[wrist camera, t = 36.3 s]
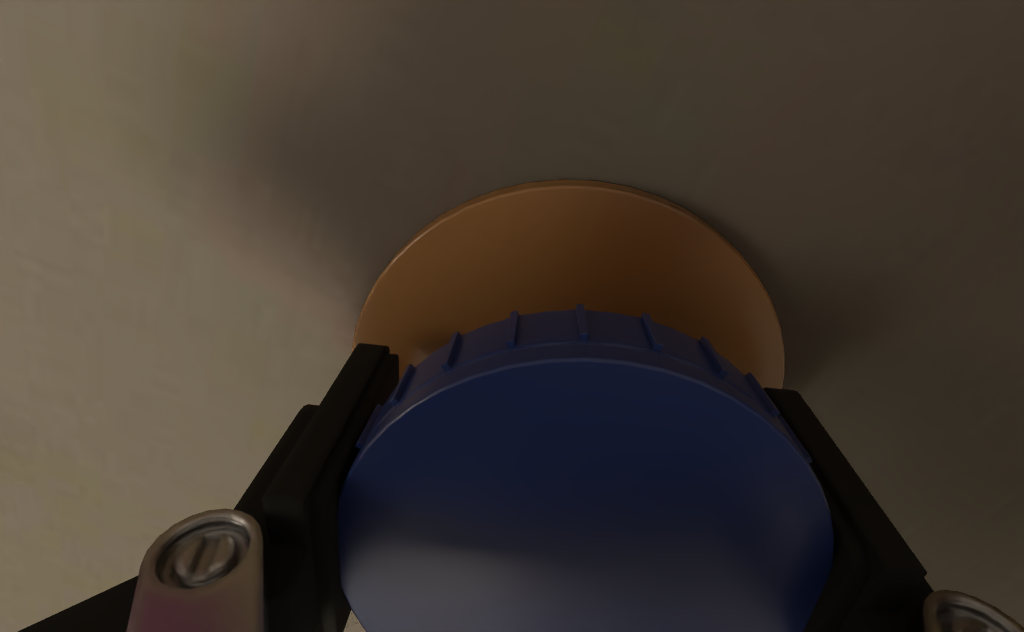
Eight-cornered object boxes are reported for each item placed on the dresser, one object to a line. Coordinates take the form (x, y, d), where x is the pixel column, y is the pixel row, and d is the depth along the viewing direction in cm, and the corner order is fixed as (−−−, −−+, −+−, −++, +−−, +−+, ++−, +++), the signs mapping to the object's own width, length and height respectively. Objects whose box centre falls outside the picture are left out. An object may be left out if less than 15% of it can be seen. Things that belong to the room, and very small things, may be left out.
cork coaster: (844, 206, 10) (858, 214, 9) (711, 547, 14) (716, 564, 13) (346, 153, 10) (337, 158, 9) (364, 509, 14) (359, 524, 13)
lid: (720, 664, 10) (747, 756, 9) (359, 613, 10) (330, 696, 9) (861, 340, 7) (935, 400, 6) (364, 271, 7) (322, 314, 6)
